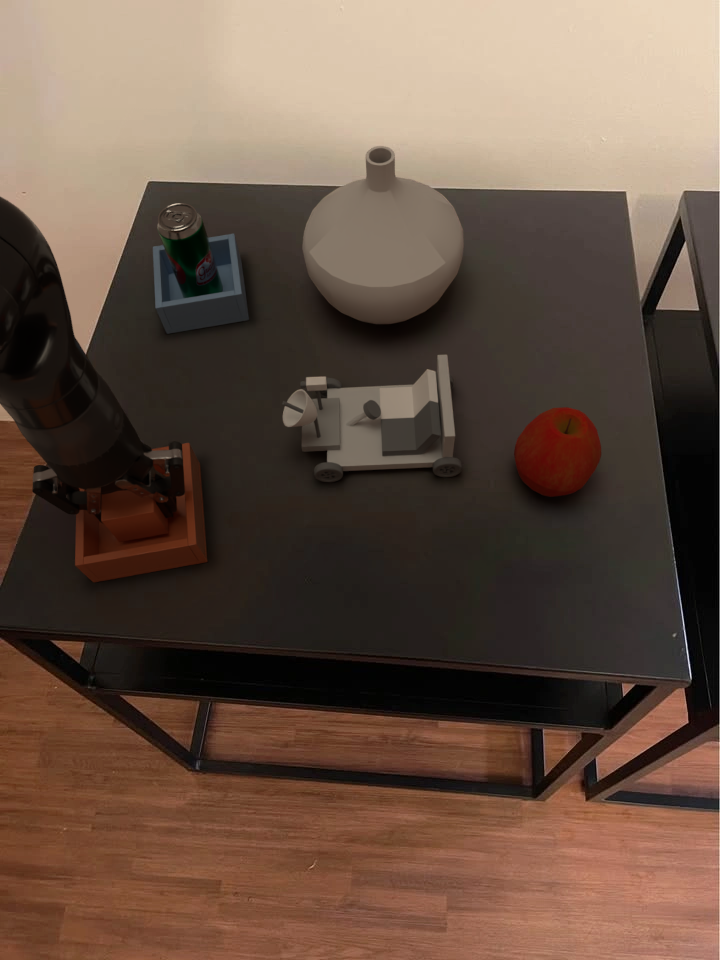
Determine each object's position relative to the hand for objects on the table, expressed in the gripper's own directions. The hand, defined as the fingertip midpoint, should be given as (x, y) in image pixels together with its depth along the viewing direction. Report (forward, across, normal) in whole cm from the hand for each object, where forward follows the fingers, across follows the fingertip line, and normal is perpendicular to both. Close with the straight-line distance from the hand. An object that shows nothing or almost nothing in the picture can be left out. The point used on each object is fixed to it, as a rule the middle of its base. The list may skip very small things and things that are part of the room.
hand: (141, 514), depth 73 cm
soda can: (+1, -8, -30) cm, 31 cm away
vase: (+2, -30, -26) cm, 40 cm away
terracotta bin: (+2, 0, 0) cm, 2 cm away
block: (0, 0, 0) cm, 0 cm away
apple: (+2, -42, +3) cm, 42 cm away
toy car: (+2, -25, -6) cm, 26 cm away
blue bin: (+2, -8, -30) cm, 31 cm away
